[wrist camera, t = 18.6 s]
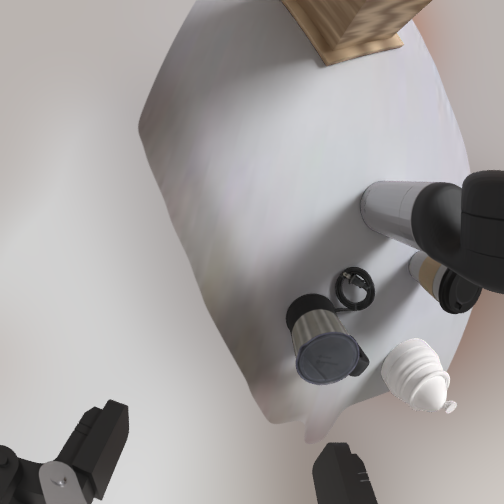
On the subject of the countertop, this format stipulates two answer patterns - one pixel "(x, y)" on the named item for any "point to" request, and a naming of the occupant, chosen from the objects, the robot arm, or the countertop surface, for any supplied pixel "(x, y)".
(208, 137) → the countertop surface
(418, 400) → the honey pot
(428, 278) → the coffee cup
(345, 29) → the oak lectern
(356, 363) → the milk frother
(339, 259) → the countertop surface
